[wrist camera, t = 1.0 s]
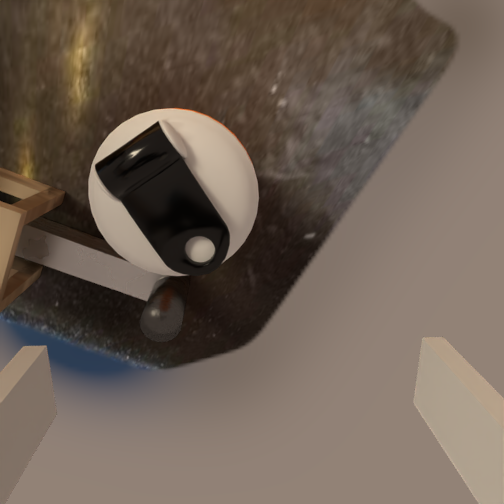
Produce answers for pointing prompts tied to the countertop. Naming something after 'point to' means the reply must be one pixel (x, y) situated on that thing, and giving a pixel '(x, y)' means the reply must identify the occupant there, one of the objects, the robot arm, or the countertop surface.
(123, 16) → the countertop surface
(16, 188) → the tunnel
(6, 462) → the robot arm
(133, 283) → the hammer
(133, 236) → the shaker bottle
